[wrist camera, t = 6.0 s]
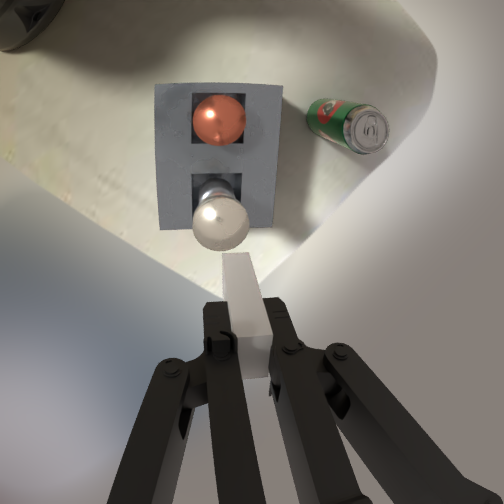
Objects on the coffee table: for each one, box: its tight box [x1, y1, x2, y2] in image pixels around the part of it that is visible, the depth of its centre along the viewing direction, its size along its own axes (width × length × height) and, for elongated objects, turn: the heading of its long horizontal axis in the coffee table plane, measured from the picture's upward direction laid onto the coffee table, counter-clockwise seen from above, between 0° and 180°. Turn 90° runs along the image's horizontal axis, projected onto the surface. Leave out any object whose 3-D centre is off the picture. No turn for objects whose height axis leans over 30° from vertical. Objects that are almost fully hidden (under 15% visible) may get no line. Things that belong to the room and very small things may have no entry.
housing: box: [154, 83, 283, 230], centre depth 32 cm, size 15×12×8 cm
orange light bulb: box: [193, 95, 246, 146], centre depth 28 cm, size 5×5×8 cm
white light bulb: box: [192, 177, 249, 251], centre depth 28 cm, size 5×5×8 cm
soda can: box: [307, 99, 389, 154], centre depth 31 cm, size 5×5×12 cm
